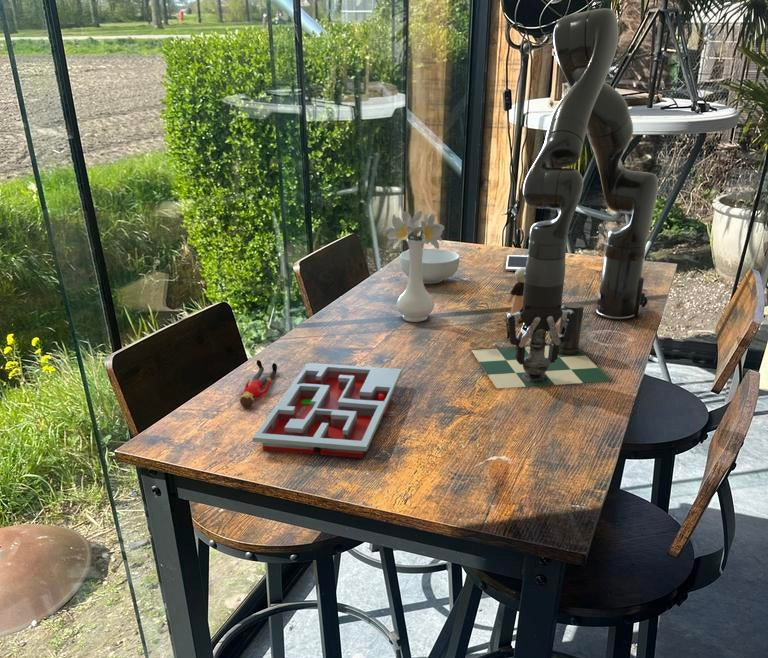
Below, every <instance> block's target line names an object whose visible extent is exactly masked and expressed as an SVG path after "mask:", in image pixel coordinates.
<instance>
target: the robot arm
mask: <svg viewBox="0 0 768 658" xmlns="http://www.w3.org/2000/svg"><path fill="white" fill-rule="evenodd" d="M619 33H620V32H619V24H618V19H617V16H616V14H615V12H614V11H613V10H612V9H611V8H606V7H605V8H604V7H603V8H596V9H591V10H586V11H582V12H581V11H580V12H577V13H572V14H568V15H565V16H563V17H561V18H560V19H558V21H557V22H556V24H555V26H554V29H553V36H552V37H553V39H552V40H553V48H554V53H555V57H556V61H557V63H558V65H559V67H560V69H561V72H562V74H563V76H564V78H565V80H566V82H567V84H568V85H567V86H568V87H569V90H568V91H567V92H566V93H565V94H564V96H563V97H562V98H561V99H560V101H559V102H558V104H557V105H556V107H554V110H553V112H552V114H551V116H550V119H549V123H548V125H547V131H546V133H545V134H546V135H545V139H544V143H543V145H542V147H541V150H540V152H539V153H538V156H537V157H536V159H535V161H534V163H533V164H532V165H531V167H530V169H529V171H528V173H527V175H526V177H525V179H524V183H523V186H522V195H523V199H524V202H525V204H526V205H527V206H528V207H529V208H533V209H542V210H544V209H545V210H554V211H555V210H557V211H559V213H558V216H557V217H555V218H554V219H548V220H541V221H537V222H535V223H533V224H532V225H531V227H530V230H529V239H528V250H527V256H528V258H527V263H526V268H525V274H524V291H523V304H522V308H521V310H520V312H517V313H512V314H511V311H508V312H506V313H505V327H506V329H505V330H506V339H507V341H508V342H509V343H510V345H512V346H515V347H516V351H515V359H516V360H517V362H518V363H519V364H520V365H522V364H524V356H525V347H526V344H527V342H528V340H529V339H531V335H532V333H533V332H536V331H537V330H539V329H544V330H545V331H546V333H548V335H549V338H550V341H551V342H549V345H548V346H549V354H548V360H550V362H551V363H554V362H555V360H557V358H558V352H559V345H560V344H561V343H562V342H568V341H569V340H570V336H571V332H572V328H573V325H574V321H575V317H576V314H575V313H574V312H573V311H572V310H571V309H568V310H562V302H563V294H564V284H565V276H566V255H567V245H568V237H569V231H570V227H571V224H572V221H573V217H574V215H575V212H576V210H577V208H578V205H579V203H580V200H581V197H582V194H583V191H584V186H585V185H584V178H583V175H582V173H581V172H580V171H579V170H578V169H577V168H572V167H571V166H573V165H575V164H576V163H577V162H578V161H579V160H580V158H581V155H582V153H583V148H584V144H585V140H586V137H587V139H588V142H589V145H590V146H591V150H592V152H593V155H594V159H595V162H596V166H597V169H598V173H599V177H600V182H601V183H600V184H601V188H602V193H603V198H604V201H605V204H606V207H607V208H608V210H610V211H612V212H615V213H619V214H627V215H631V217H630V221H629V222H628V223H627V224H626V225H621V226H617V227H614V228H611V229H610V230H608V231H607V236H606V240H605V241H606V242H605V251H604V256H603V262H602V263H603V265H602V272H601V278H600V286H599V290H597V297H598V300H597V305H596V306H597V307H596V311H595V312H596V315H597V316H599V317H601V318H603V319H608V320H613V321H614V320H616V321H619V320H620V321H622V320H623V321H624V320H631V319H633V318H638V317H639V313H640V312H639V311H640V307H641V308H645V307H646V305H647V304H648V297H646V296H645V295H646V293H645V292H643V287H644V281H645V279H644V277H643V276H642V272H643V267H644V261H645V254H646V247H647V242H648V238H649V234H650V231H651V227H652V223H653V218H654V213H655V208H656V203H657V199H658V193H659V180H658V179H659V178H658V176H657V175H656V174H655V173H653V172H648V171H641V170H640V171H638V170H629V169H626V167H624V163H623V162H622V161H623V160H622V158H623V155H624V154H625V152H626V151H627V149H628V147H629V145H630V143H631V141H632V138H633V133H634V124H633V120H632V116H631V113H630V109H629V105H628V103H627V101H626V99H625V98H624V96H623V95H622V94H621V93H619V91H618V90H616V89H615V88H614V87H612V86H611V85H610V84H609V83H608V82H606V79H607V77H608V74H609V72H610V69H611V67H612V64H613V62H614V60H615V56H616V52H617V49H618V43H619V35H620V34H619ZM570 167H571V168H570ZM561 316H562V319H563V320H564V321H563V325H562V329H561V333H560V335H559V330H558V328H557V326H556V324H557V323H558V321H560V320H561ZM520 318H521V319H522V321H521V322H523V323H522V325H521V328H520V329H519V332H518V334H517V330H516V325H518V323H519V322H518V320H519V319H520ZM519 321H520V320H519Z"/></svg>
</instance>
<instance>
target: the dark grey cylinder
mask: <svg viewBox="0 0 768 658" xmlns="http://www.w3.org/2000/svg"><path fill="white" fill-rule="evenodd" d="M561 309H562V310H568V309H571V310H572V311H573V312H574V313H575V314H576V317H575V321H574V325H573V328H572V332H571V336H570V340H569V341H568V342H562V343H561V344H560V345H559V352H558V353H559V354H563V355H576V354H578V353H580V350H581V347H582V346H581V345H580V342H581V341H580V339H581V332H582V324H583V317H584V309H585V307H584V305H583V304H581V303H579V302H573V301H571V302H570V301H569V302H565V303H564V304H561ZM563 321H564V320H563V319H562V316H561V317H560V319H559V329H558V335H560V333H561V329H562V325H563Z"/></svg>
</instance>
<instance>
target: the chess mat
mask: <svg viewBox="0 0 768 658" xmlns="http://www.w3.org/2000/svg"><path fill="white" fill-rule="evenodd" d="M524 347H525V356H524V358H525V357H528V355H529V352H530V346H524ZM470 351H471V353H472V354H473V356H474V357H475V359H476V360H477V361H478V363H479V365H480V366H481V367H482V369H483V371H484V373H485V374H486V375H487V376H488V378H489V380H490V381H491V383H492V384H493V385H494V387H495V389H496V390H501V389H511V388H526V387H539V386H540V387H543V386H559V385H572V384H573V385H574V384H590V383H605V382H612V380H611V379H610V378H609V377H608V376H607V375H606V374H605V373H604V372H603V371H602V370H601V369H600V368H599V367H598V366H597V365H596V364H595V363H594V362H593V361H592V360H591V359H590V358H589V357H588V356H587V355H586V354H585V353H584V352H583V351H582V350H581V349H580V353H578V354H576V355H563V354H559V353H558V358H557V360H555V362H554V363H551V364H550V365H549V367H548V369H547V371H546V372H545V373H544V375H546V376H547V380H546V381H545V382H541V383H531V382H527V381H524V380H523V379H522V378H521V377H522V375H523V374H525V373H526V372H525V370H524V369H523V364H522V365H520V364H519V363H518V362H517V360H516V359H515V351H516V346H515V347H514V346H513V347H498V348H483V349H471V350H470ZM548 354H549V345H546V346H545V351H544V355H545V358H547V359H548Z"/></svg>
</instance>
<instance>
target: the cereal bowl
mask: <svg viewBox="0 0 768 658" xmlns="http://www.w3.org/2000/svg"><path fill="white" fill-rule="evenodd" d="M399 265H400V270H401V271H402V272H403V273H404V275H406V276H407V277H409V269H410V253H409V249H408V250H405V251H403V252H401V253H400V255H399ZM459 266H460V254H458V253H457V252H455V251H453V250H448V249H441V248H438V249H437V248H423V254H422V277H423V284H424V285H432V284H439V283H441V282H443V281H444V280H446V279H449V278H451V277H453V276H454V275H455V274H456V273H457V271H458V269H459Z"/></svg>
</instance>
